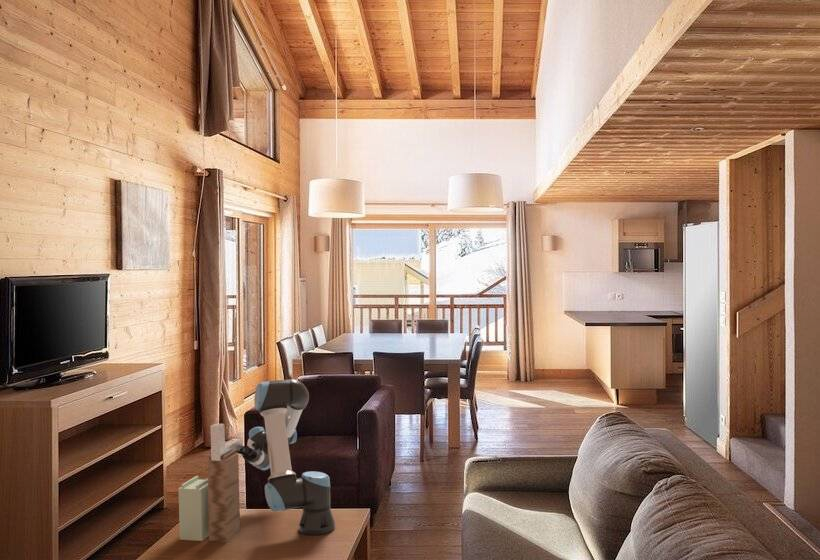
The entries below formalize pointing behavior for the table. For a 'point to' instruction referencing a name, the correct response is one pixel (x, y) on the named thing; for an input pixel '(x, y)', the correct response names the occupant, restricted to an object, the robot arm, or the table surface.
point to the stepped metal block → (222, 443)
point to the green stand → (194, 510)
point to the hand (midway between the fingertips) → (233, 441)
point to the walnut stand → (224, 497)
